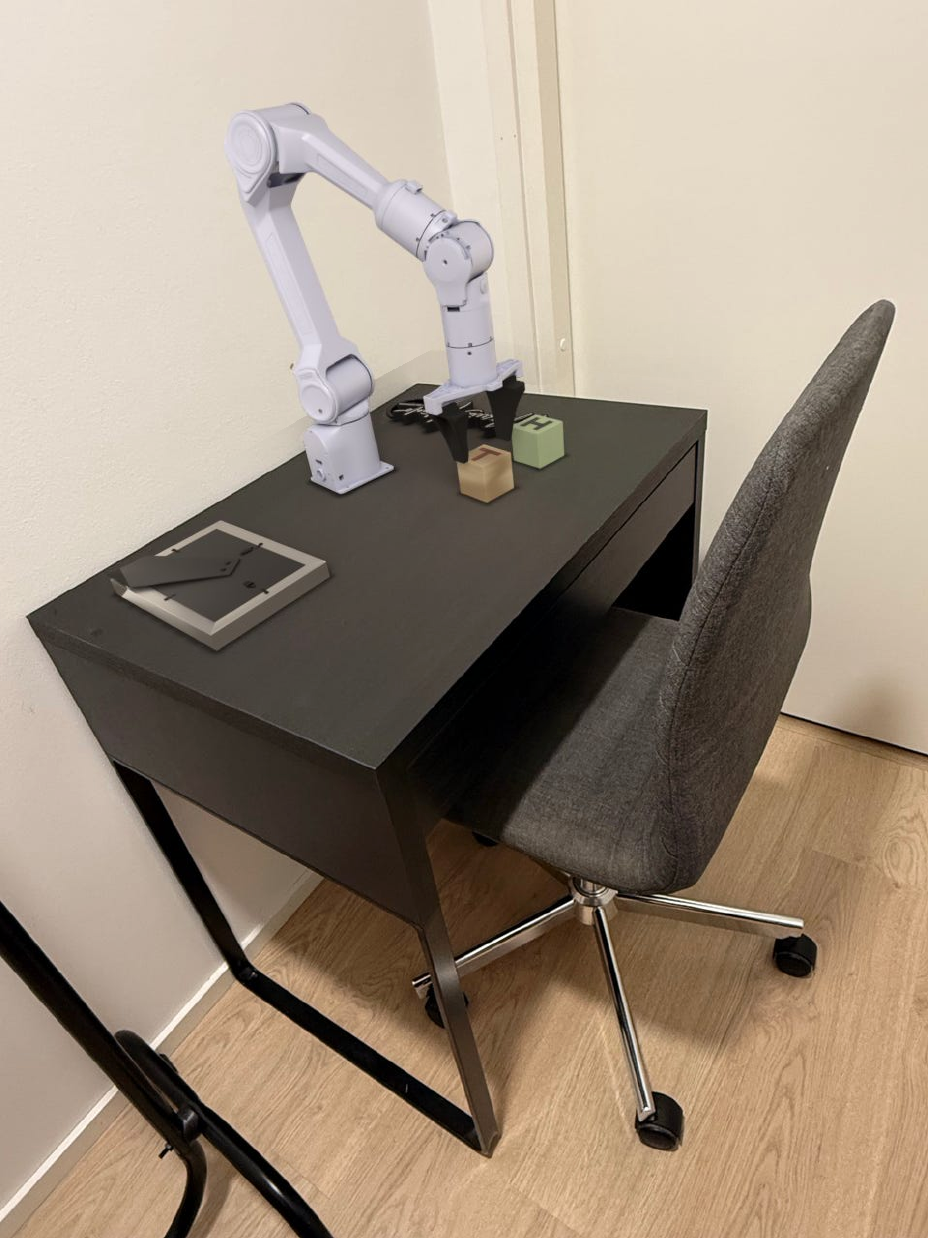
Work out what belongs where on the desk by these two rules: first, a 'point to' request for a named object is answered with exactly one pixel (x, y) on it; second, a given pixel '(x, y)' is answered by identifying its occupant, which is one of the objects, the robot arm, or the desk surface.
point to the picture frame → (219, 582)
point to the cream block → (486, 473)
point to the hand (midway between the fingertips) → (482, 449)
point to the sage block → (538, 441)
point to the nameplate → (476, 417)
